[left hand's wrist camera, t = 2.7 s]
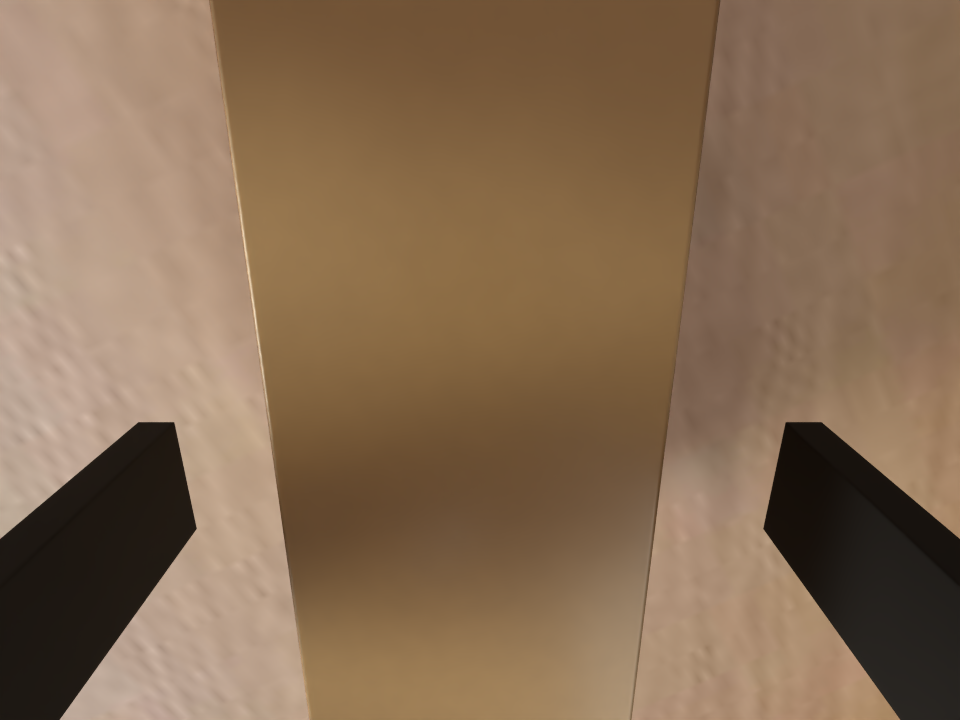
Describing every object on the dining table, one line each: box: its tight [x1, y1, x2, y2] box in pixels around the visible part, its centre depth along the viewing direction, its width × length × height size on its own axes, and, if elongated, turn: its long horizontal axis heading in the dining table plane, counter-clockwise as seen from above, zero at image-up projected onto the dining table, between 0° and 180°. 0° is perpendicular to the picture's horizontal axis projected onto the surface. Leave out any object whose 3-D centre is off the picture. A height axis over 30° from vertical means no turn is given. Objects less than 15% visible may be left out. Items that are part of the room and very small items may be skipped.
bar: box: [209, 0, 720, 720], centre depth 11 cm, size 21×6×9 cm, turn 0°
